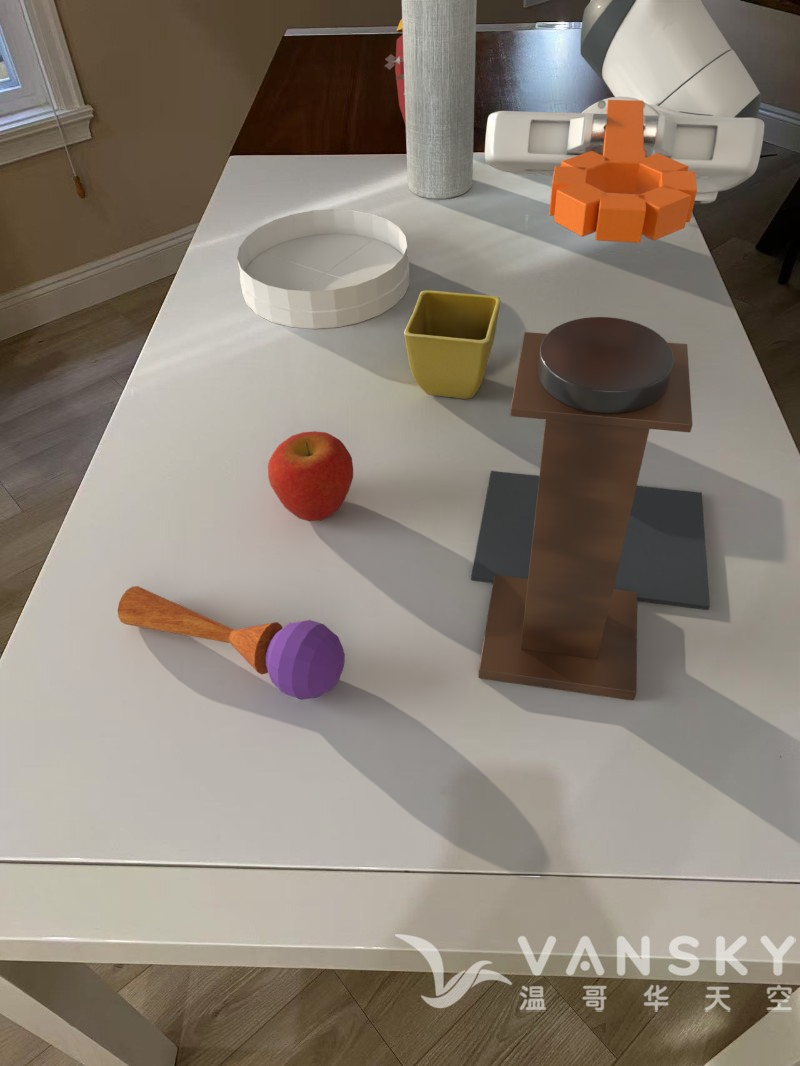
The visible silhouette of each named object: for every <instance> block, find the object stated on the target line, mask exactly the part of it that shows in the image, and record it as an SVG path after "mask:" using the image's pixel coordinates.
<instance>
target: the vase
mask: <svg viewBox="0 0 800 1066" xmlns="http://www.w3.org/2000/svg"><path fill="white" fill-rule="evenodd" d="M477 2H478V1H477V0H401V19H402V25H403V32H402V35H403V55H404V85H405V116H406V125H405V141H406V145H405V146H406V168H407V169H406V172H407V185H408V189H409V191H411V193H413V194H415V195H416V196H418V197H421V198H425V199H434V200H443V199H445V200H446V199H452V198H456V197H459V196H462V195H463V194H465V193H466V192H468V191H470V189H471V188H472V186H473V176H474V175H473V173H474V172H473V171H474V135H475V133H474V131H475V129H474V127H475V91H476V89H475V86H476V44H477V37H476V36H477V4H478V3H477Z"/></svg>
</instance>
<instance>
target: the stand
mask: <svg viewBox="0 0 800 1066" xmlns="http://www.w3.org/2000/svg"><path fill="white" fill-rule="evenodd" d="M688 348H689V347H688V344H687V343H678V342H668V341H667V340H666V339H665V338H664V337H663V336H662V335H661V334H659V333H658V332H657V331H655V330H653V329H652V328H649V327H648V326H646V325H643V324H641V323H638V322H636V321H635V322H634V321H633V320H632V321H631V320H629V319H628V320H627V319H624V318H618V317H611V316H610V317H609V316H592V317H591V316H590V317H582V318H576V319H573V320H569V321H565V322H563V323H561V324H560V325H557V326H555V327H554V328H553V329H551V330H550V331H549V332H548V333H545V332H544V333H543V332H529V331H523V337H522V343H521V348H520V353H519V359H518V365H517V371H516V376H515V382H514V387H513V392H512V393H513V394H512V399H511V405H510V413H509V414H510V417H515V418H527V419H538V420H545V422H544V429H543V439H542V449H541V456H540V457H541V458H540V466H539V474H538V476H539V484H538V493H537V503H536V512H535V521H534V530H533V539H532V549H531V558H530V567H529V576H528V579H526V578H518V577H510V576H502V575H494V580H493V583H492V588H491V593H490V599H489V600H490V601H489V603H488V604H489V605H488V612H487V617H486V624H485V630H484V635H483V643H482V648H481V654H480V661H479V667H478V679H482V680H483V679H484V680H489V681H491V680H492V681H496V682H503V683H511V684H517V685H523V686H532V687H538V688H545V689H553V690H558V691H559V690H560V691H567V692H573V693H578V694H586V695H593V696H601V697H607V698H613V699H621V700H626V701H627V700H628V701H635V699H636V695H637V691H638V689H637V687H638V686H637V685H638V683H637V682H638V681H637V680H638V679H637V676H638V670H637V669H638V662H637V661H638V601H637V592H631V591H623V590H615V589H614V584H615V580H616V575H617V571H618V566H619V562H620V557H621V553H622V549H623V544H624V540H625V535H626V531H627V526H628V522H629V518H630V513H631V509H632V504H633V500H634V495H635V491H636V487H637V486H638V481H639V478H640V473H641V469H642V464H643V459H644V456H645V451H646V446H647V443H648V438H649V433H650V430H657V431H667V432H677V433H678V432H679V433H691V432H692V428H693V410H692V396H691V394H692V393H691V381H690V367H689V364H690V363H689V349H688Z"/></svg>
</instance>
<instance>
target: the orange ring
mask: <svg viewBox="0 0 800 1066" xmlns="http://www.w3.org/2000/svg"><path fill="white" fill-rule="evenodd" d="M606 114H608V117H607V124H606V127H605V138H604V147H603V156H602V155H600V154H598V153H596V152H593V151H590V152H587V153H584V154H581V155H578V156H575V157H573V158H570V159H567V160H564V161H562V162H561V166H555V169H554V175H552V183H551V190H550V193H551V194H550V201H549V213H548V214H549V216H553V222H554V223H556V224H558V225H559V226H562V227H563V228H565V229H567V230H569V231H570V232H572V233H574V234H575V235H578V236H580V237H581V238H582V237H586V236H588V235H591V234H594V233H595V236H594V237H595V238H594V240H595V241H597V242H616V243H618V242H619V243H633V244H634V243H636V244H639V243H641V241H642V236H643V237H645V238H648V239H649V240H651V241H656V240H660V239H661V238H664V237H666V236H669V235H672V234H673V233H676V232H678V231H681V230H683V229H684V228H685V227H686V223H690V222H691V219H692V215H693V210H694V205H695V204H694V202H695V197H696V193H697V186H696V176H695V172H694V171H688V166H687V165H685V164H682V163H680V162H678V161H675V160H673V159H670V158H668V157H666V156H663V155H661V154H659V153H657V154H654V155H652V156H649V157H646V151H645V150H644V126H643V117H644V113H643V101H636V100H608V104H607V111H606ZM613 193H619V194H613Z"/></svg>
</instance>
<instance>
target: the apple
mask: <svg viewBox="0 0 800 1066" xmlns="http://www.w3.org/2000/svg"><path fill="white" fill-rule="evenodd" d="M353 465H354V464H353V458H352V455H351V453H350V452H349V450H348V449H347V446H345V444H344V443H343V442H342V441H341V440H340V439H339V438H337V437H336V436H334V435H332V434H331V433H328V432H326V431H317V430H316V431H315V430H314V431H313V430H312V431H304V432H299V433H296V434H292V435H291V436H289V437H288V438H287V439H285V440H284V441H282V442H281V443H280V444H278V445H277V447H276V448H275V450H274V451H273V453H272V454H271V456H270V458H269V460H268V464H267V471H268V472H267V474H268V477H267V478H268V480H269V485H270V487H271V489H272V490H273V492H274V493H275V495H276V496H277V498H278V499H279V501H280V503H281V504H282V506H283V507H284V508H285V509H286V510H287V511H288V512H290V513H291V514H292V515H294V516H295V517H296V518H298V519H300V520H304V521H307V522H318V521H322V520H325V519H327V518H329V517H332V515H333V514H335V513H336V512H337V511H338V510H339V509H340V507H341V506H342V505H343V503H344V502H345V499H346V497H347V495H348V493H349V491H350V488H351V485H352V482H353V479H354V466H353Z"/></svg>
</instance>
